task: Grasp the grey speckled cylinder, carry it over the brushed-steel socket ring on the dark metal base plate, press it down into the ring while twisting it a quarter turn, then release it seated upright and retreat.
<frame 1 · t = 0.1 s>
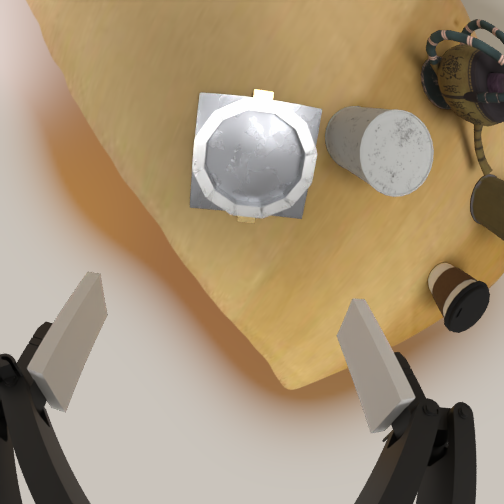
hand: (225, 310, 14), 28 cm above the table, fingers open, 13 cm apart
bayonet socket: (253, 155, 38), on the table
coffee cup: (438, 275, 49), on the table
grey speckled cylinder: (355, 138, 37), on the table
canister: (486, 198, 42), on the table
teapot: (449, 102, 34), on the table
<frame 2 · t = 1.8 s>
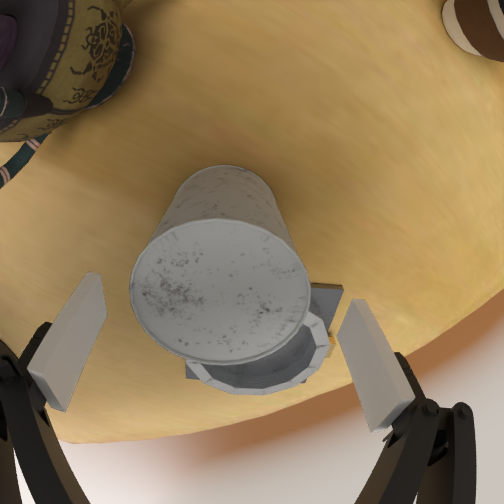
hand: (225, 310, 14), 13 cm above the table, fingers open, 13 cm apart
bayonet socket: (255, 337, 32), on the table
coffee cup: (460, 26, 16), on the table
grey speckled cylinder: (224, 217, 26), on the table
teapot: (120, 34, 17), on the table
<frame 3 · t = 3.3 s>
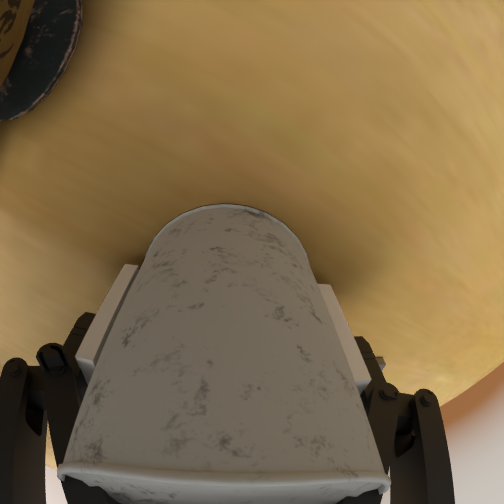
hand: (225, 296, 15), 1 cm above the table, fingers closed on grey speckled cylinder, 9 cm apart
grey speckled cylinder: (226, 282, 16), on the table, touching gripper
teapot: (64, 1, 8), on the table
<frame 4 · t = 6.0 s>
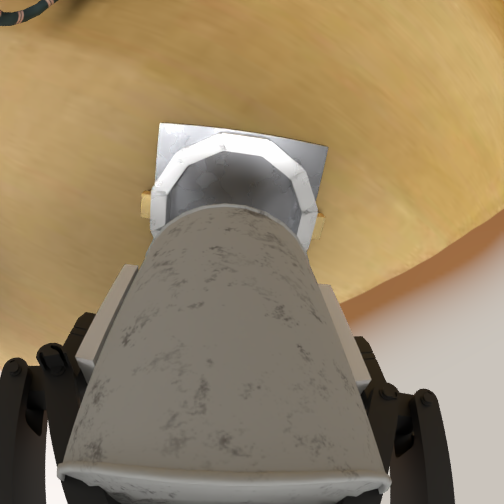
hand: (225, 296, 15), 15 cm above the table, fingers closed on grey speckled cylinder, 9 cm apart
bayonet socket: (232, 209, 29), on the table
grey speckled cylinder: (226, 282, 16), point 14 cm above the table, touching gripper
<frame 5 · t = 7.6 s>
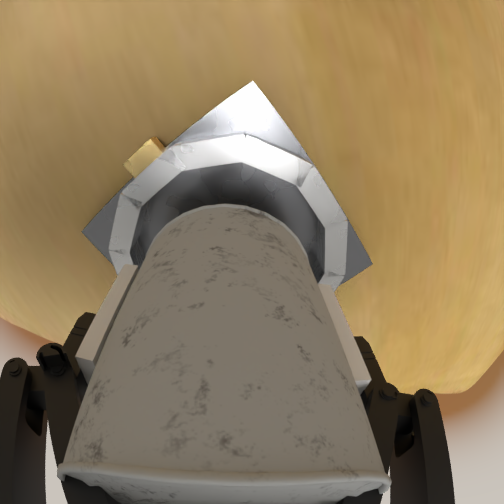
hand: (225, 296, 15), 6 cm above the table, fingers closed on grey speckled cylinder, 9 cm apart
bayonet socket: (228, 242, 21), on the table
grey speckled cylinder: (226, 282, 16), point 5 cm above the table, touching gripper
when the fingers open (4 cm above the table, at t = 8.7 s): grey speckled cylinder drops 2 cm, resting on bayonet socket.
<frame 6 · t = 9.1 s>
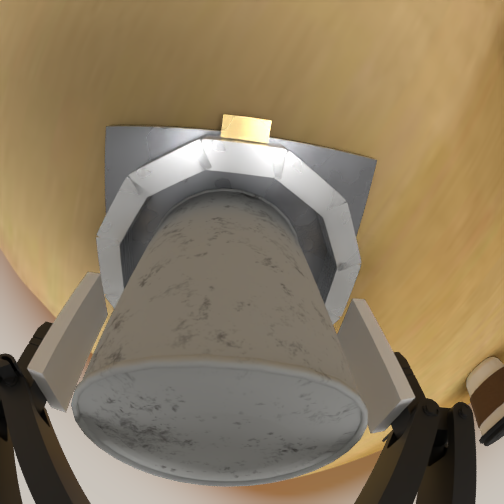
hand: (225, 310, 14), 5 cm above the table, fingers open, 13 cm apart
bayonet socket: (227, 256, 19), on the table
coffee cup: (480, 369, 31), on the table
grey speckled cylinder: (225, 260, 19), point 1 cm above the table, touching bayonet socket
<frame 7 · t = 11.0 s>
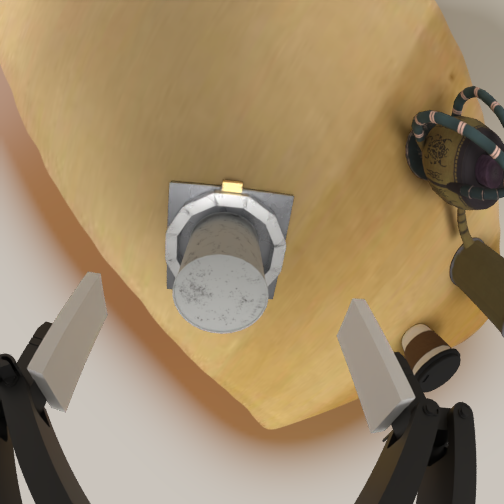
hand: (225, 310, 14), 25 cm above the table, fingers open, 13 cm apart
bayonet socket: (225, 243, 40), on the table
coffee cup: (413, 334, 52), on the table
grey speckled cylinder: (224, 244, 39), point 1 cm above the table, touching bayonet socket
canister: (468, 260, 44), on the table
teapot: (435, 171, 37), on the table
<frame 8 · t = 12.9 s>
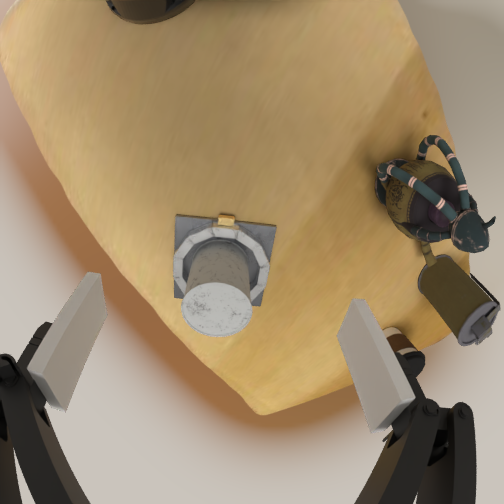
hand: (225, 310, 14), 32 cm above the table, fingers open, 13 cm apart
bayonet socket: (221, 262, 50), on the table
coffee cup: (386, 335, 62), on the table
grey speckled cylinder: (220, 264, 49), point 1 cm above the table, touching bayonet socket
canister: (436, 274, 54), on the table
teapot: (403, 200, 46), on the table
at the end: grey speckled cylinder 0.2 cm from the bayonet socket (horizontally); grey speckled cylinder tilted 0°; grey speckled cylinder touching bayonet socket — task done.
